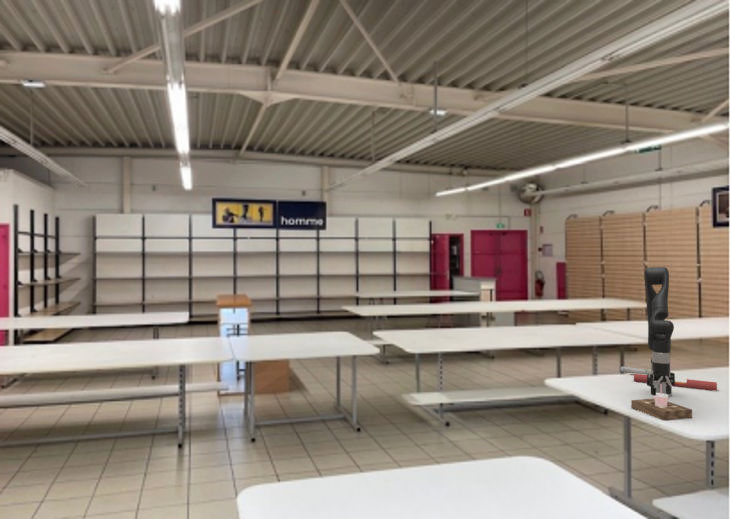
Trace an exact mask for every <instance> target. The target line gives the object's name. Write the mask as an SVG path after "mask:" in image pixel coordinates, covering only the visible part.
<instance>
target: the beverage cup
mask: <svg viewBox="0 0 731 519" xmlns="http://www.w3.org/2000/svg"><path fill="white" fill-rule="evenodd" d="M653 396H654V395H653ZM668 398H669V397H668V395H667V394H664V393H662V384H660V393H656V396H654V399H655V405H656V406H659V407H667V401H668Z"/></svg>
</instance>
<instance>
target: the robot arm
mask: <svg viewBox="0 0 731 519" xmlns="http://www.w3.org/2000/svg"><path fill="white" fill-rule="evenodd" d="M643 275H644V277H643V278H644V284H645V291H646V292H645V293H646V317H647V326H648V328H647V329H648V330H647V344H648V346H647V347H648V349H649V350H650V351H652V354H651V356H652V357H651V358H650V369H651V374H649V373H648V374H647V383H646V386H648V387H650V395H652V396H656V393H660V384H662V393H664V394H667V395H668V398H669V397H671V396H672V393H673V392H672V391H673V390H672V389H673V388H672V387H673V386H672V385H675V381H676V379H675V378H676V375H675V373H674V372H671V349H672V348H671V346H672V335H673V332H674V328H675V326H674V323H673V321H671V320H668V319H667V318H668V317H669V302H668V301H669V289H670V288H669V287H670V273H669V270H668V268H667V267H666V266H654V267H646V268H645V269H644V274H643ZM660 285H661V287H660V290H659V291H658V292H657V291H656V290H655V288H654V286H660Z"/></svg>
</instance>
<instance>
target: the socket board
mask: <svg viewBox="0 0 731 519" xmlns="http://www.w3.org/2000/svg"><path fill="white" fill-rule="evenodd" d="M630 402H631V404H630V405H631V406H630V407H631V409H632V408H633V410H635V409H636V410H635V411H637V410H639V411H638V412H640V411H642V412H641V413H643V412H644V413H643V414H645V413H646V415H648V414H649V415H648V416H651V417H653V416H654V418H656V419H659V420H662V421H672V420H685V418H686V419H692V418H693V409H692V408H689V407H686V406H683V405H680V404H676V403H673V402H670V401H668V400H667V407H659V406H656V405H655V398H643V399H633V400H632V399H631V400H630Z"/></svg>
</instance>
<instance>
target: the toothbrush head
mask: <svg viewBox="0 0 731 519" xmlns="http://www.w3.org/2000/svg"><path fill="white" fill-rule="evenodd" d="M619 372H620V373H623V374H643V375H647V374H648V373H649V374H651V368H649V369H646V368H645V369H644V368H639V367H631V366H619Z"/></svg>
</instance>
